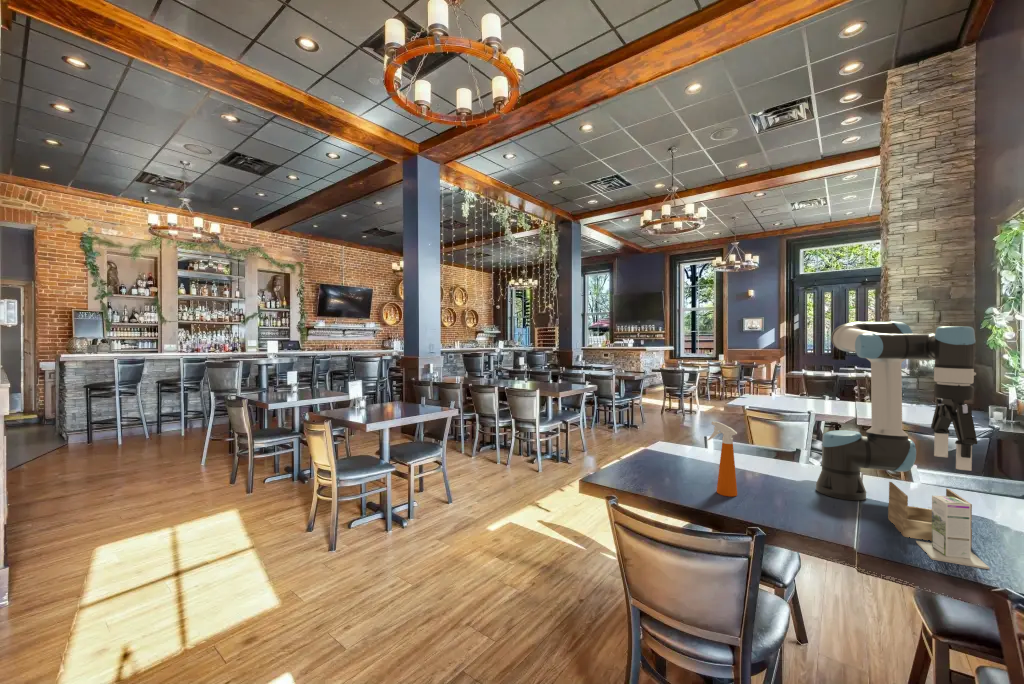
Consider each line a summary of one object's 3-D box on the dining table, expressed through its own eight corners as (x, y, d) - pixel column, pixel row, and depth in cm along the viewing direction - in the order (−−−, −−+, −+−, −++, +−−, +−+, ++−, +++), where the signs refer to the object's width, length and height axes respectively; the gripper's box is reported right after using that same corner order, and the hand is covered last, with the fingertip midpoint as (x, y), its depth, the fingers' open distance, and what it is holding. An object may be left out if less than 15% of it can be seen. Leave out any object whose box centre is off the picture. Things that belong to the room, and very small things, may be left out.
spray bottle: (709, 486, 172) (709, 419, 172) (739, 493, 165) (740, 422, 165) (703, 491, 167) (704, 421, 166) (734, 498, 160) (735, 425, 160)
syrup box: (972, 559, 115) (973, 504, 115) (944, 556, 117) (945, 501, 117) (955, 549, 121) (956, 496, 121) (930, 546, 122) (930, 494, 122)
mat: (931, 559, 116) (931, 557, 116) (916, 542, 126) (916, 540, 126) (989, 569, 111) (989, 567, 111) (968, 550, 121) (968, 549, 121)
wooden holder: (904, 536, 130) (904, 495, 130) (888, 518, 143) (888, 481, 143) (971, 547, 123) (972, 504, 123) (948, 527, 136) (949, 488, 136)
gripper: (998, 389, 106) (995, 478, 106) (951, 380, 128) (949, 453, 128) (955, 387, 109) (953, 473, 109) (917, 379, 131) (916, 450, 132)
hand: (951, 462), depth 119 cm, fingers open, 13 cm apart
